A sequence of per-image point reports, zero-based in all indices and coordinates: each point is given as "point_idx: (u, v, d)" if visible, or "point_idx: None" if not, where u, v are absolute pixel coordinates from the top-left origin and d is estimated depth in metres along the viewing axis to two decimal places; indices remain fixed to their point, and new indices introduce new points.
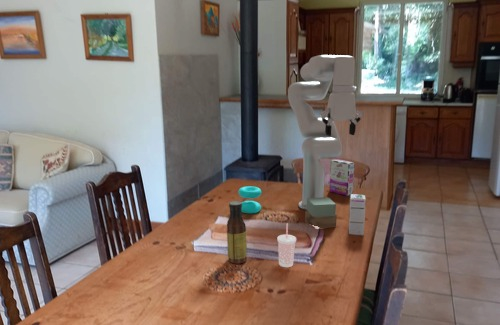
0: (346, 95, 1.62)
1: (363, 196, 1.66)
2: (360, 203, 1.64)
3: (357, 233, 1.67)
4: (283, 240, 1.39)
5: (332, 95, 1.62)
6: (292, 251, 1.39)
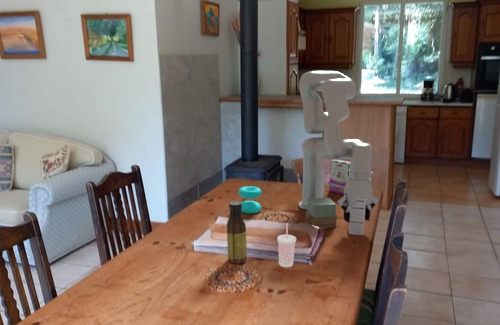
0: (363, 182, 1.63)
1: None
2: (360, 203, 1.64)
3: (357, 233, 1.67)
4: (283, 240, 1.39)
5: (349, 182, 1.63)
6: (292, 251, 1.39)
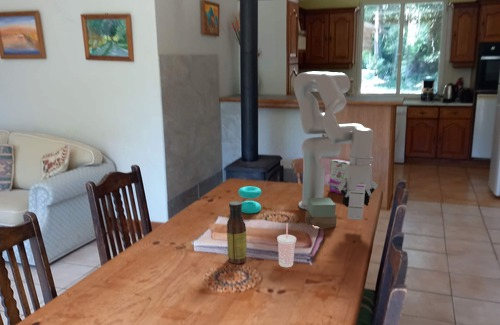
0: (363, 167, 1.62)
1: None
2: (360, 188, 1.63)
3: (356, 218, 1.67)
4: (283, 240, 1.39)
5: (349, 167, 1.62)
6: (292, 251, 1.39)
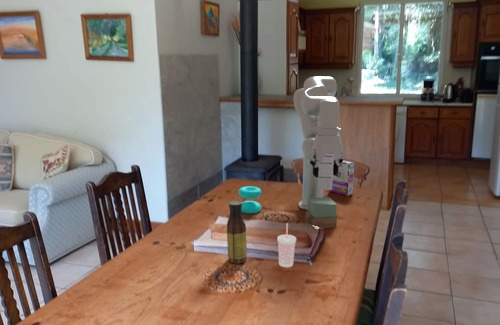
0: (331, 137, 1.67)
1: None
2: (328, 158, 1.68)
3: (326, 188, 1.71)
4: (283, 240, 1.39)
5: (317, 137, 1.67)
6: (292, 251, 1.39)
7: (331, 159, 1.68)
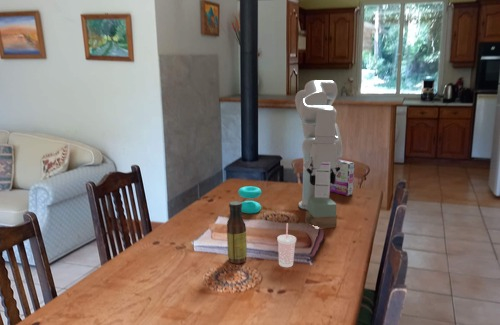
0: (328, 146, 1.68)
1: None
2: (325, 166, 1.69)
3: (323, 196, 1.72)
4: (283, 240, 1.39)
5: (314, 145, 1.68)
6: (292, 251, 1.39)
7: (328, 167, 1.69)
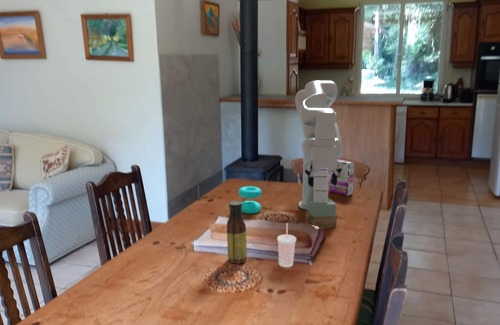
0: (327, 148, 1.68)
1: None
2: (323, 172, 1.70)
3: (321, 201, 1.72)
4: (283, 240, 1.39)
5: (314, 148, 1.69)
6: (292, 251, 1.39)
7: (326, 172, 1.70)
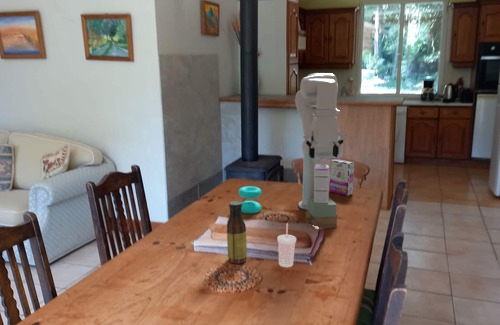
0: (329, 119, 1.66)
1: (326, 165, 1.72)
2: (324, 172, 1.70)
3: (322, 201, 1.72)
4: (283, 240, 1.39)
5: (315, 119, 1.66)
6: (292, 251, 1.39)
7: (326, 173, 1.69)
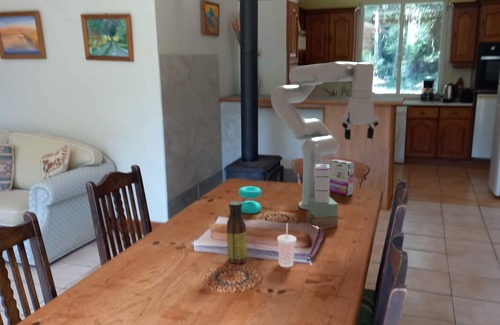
0: (365, 100, 1.69)
1: (327, 165, 1.72)
2: (324, 172, 1.70)
3: (323, 201, 1.72)
4: (283, 240, 1.39)
5: (351, 100, 1.69)
6: (292, 251, 1.39)
7: (327, 172, 1.69)
